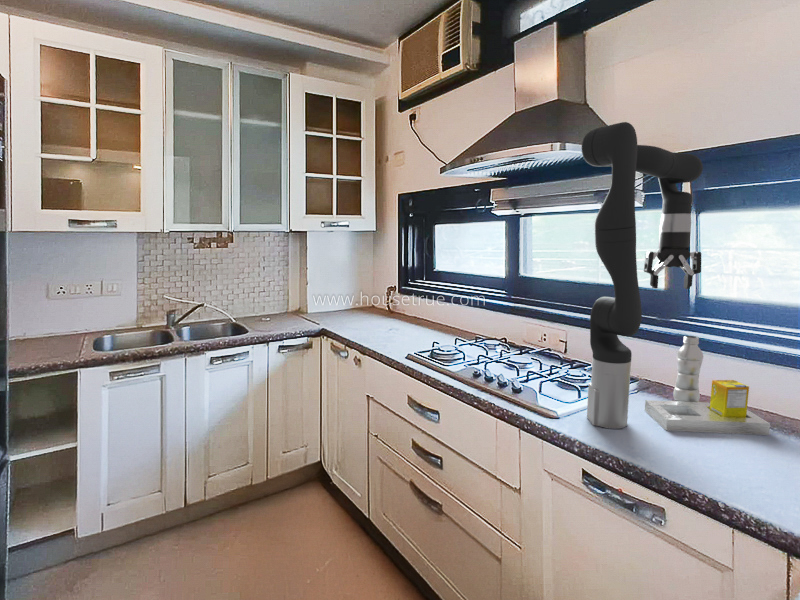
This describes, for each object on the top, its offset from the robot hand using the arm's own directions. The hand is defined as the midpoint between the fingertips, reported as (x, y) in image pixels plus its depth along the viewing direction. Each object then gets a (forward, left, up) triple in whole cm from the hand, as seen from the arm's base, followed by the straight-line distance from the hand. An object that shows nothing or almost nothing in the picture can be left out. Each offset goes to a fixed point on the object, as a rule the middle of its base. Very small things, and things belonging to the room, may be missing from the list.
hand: (670, 288), depth 134 cm
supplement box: (+11, -13, -34) cm, 38 cm away
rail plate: (+5, -13, -34) cm, 37 cm away
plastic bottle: (+7, +1, -34) cm, 35 cm away
